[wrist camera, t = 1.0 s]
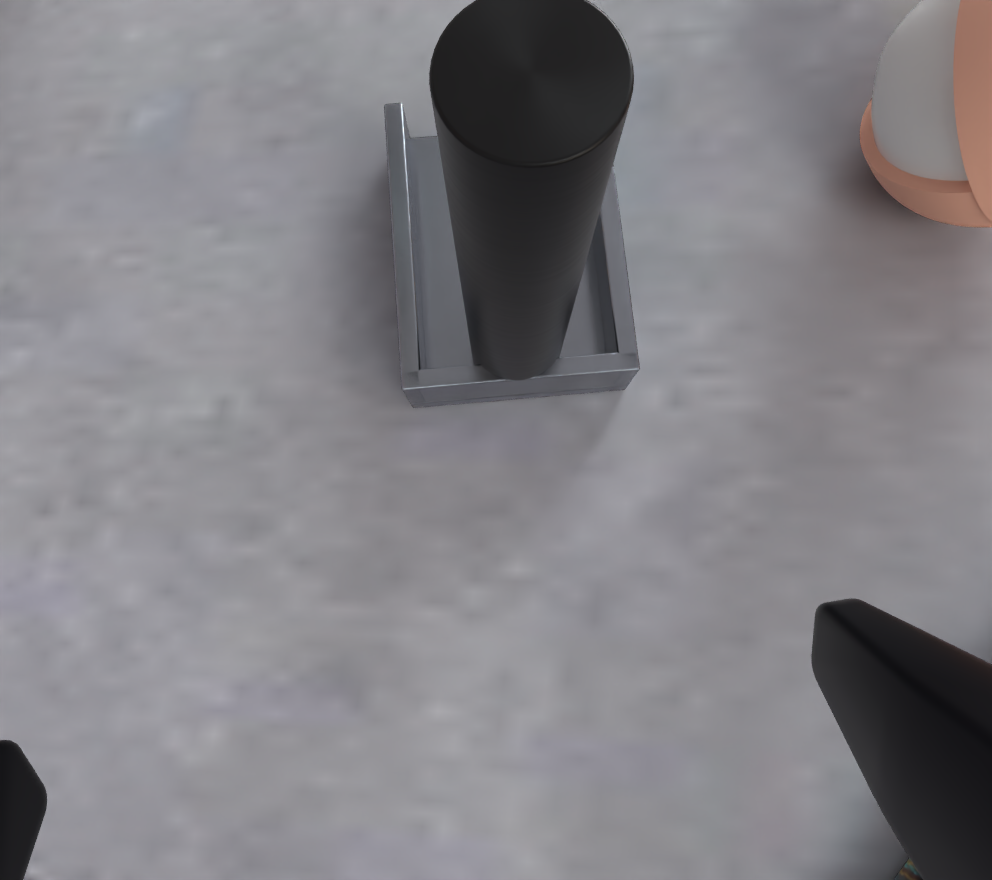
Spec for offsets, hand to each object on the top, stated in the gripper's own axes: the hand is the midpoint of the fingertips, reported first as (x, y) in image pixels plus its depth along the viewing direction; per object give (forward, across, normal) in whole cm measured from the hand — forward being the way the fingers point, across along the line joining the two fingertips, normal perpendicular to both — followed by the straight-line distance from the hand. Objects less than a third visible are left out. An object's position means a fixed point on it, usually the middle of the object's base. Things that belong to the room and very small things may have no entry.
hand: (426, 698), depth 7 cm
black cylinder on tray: (+17, -3, -1) cm, 17 cm away
